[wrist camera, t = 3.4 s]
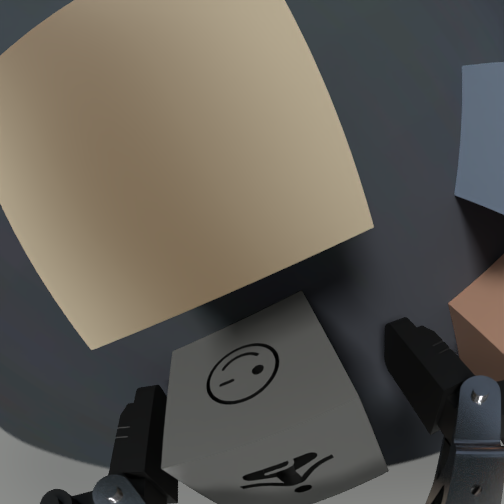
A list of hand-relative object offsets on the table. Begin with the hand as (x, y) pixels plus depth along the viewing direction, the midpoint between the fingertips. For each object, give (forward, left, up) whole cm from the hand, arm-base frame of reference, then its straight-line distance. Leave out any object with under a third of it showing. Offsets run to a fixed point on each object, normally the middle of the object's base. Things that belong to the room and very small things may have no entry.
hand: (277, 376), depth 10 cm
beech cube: (+1, -8, -1) cm, 8 cm away
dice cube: (0, +1, -2) cm, 2 cm away
